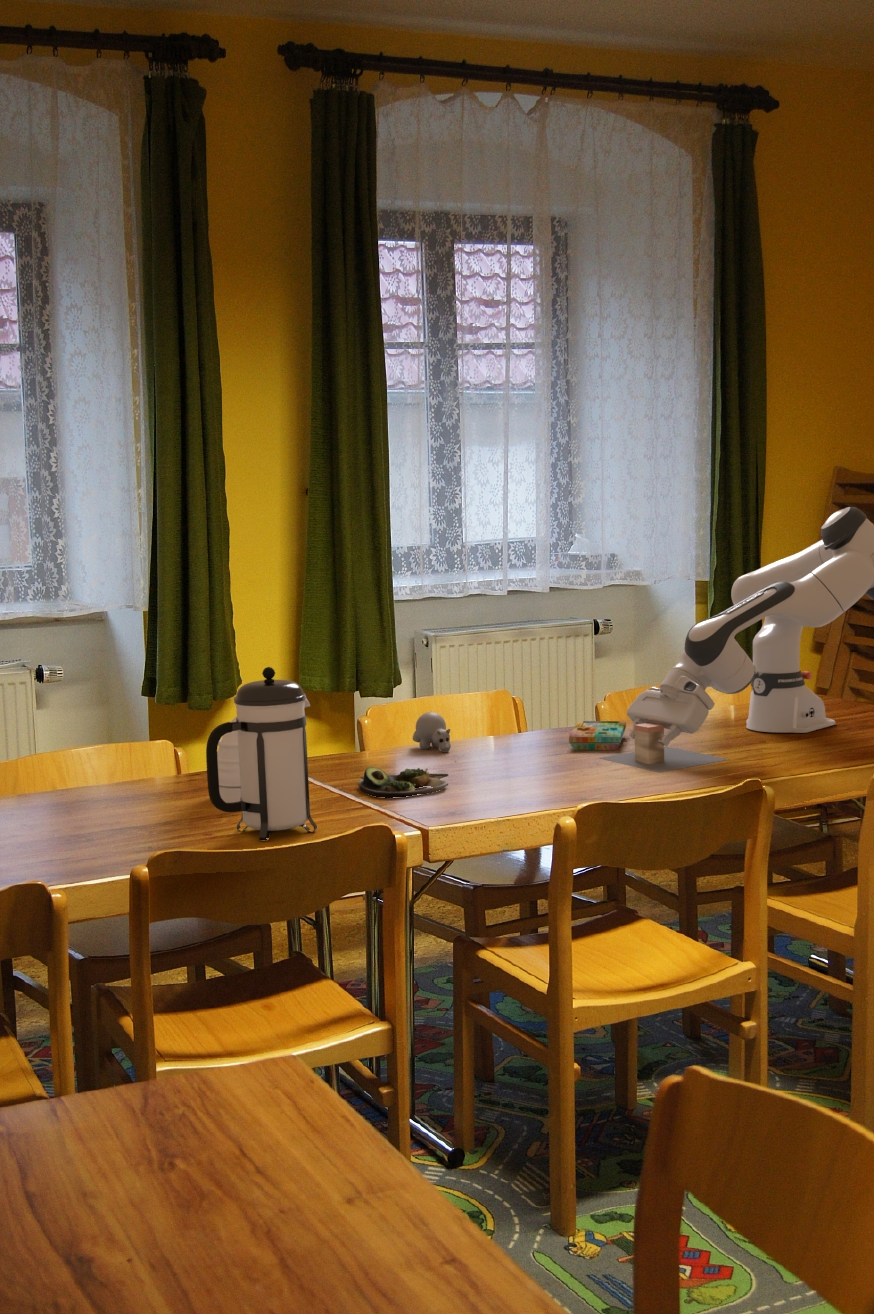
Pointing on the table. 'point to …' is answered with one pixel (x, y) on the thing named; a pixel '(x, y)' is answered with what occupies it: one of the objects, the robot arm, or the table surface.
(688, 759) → the felt mat
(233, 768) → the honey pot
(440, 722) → the round bodied animal figurine
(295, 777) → the coffee press
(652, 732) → the birch block
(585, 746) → the puzzle game
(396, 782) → the salad plate
